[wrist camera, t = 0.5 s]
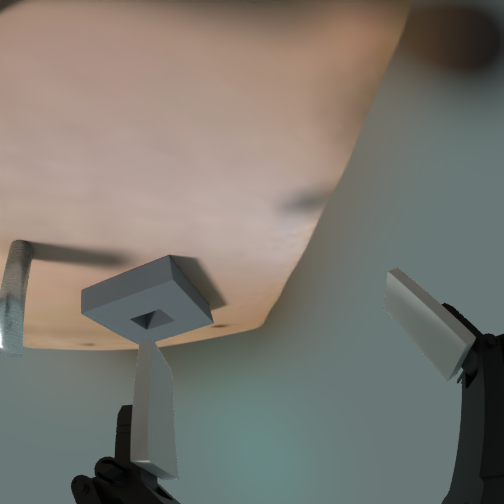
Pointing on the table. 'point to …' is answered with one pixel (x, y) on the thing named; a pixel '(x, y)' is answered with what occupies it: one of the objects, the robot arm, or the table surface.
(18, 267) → the peg
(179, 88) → the table surface
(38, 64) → the table surface
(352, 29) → the table surface
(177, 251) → the table surface
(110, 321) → the hole block
